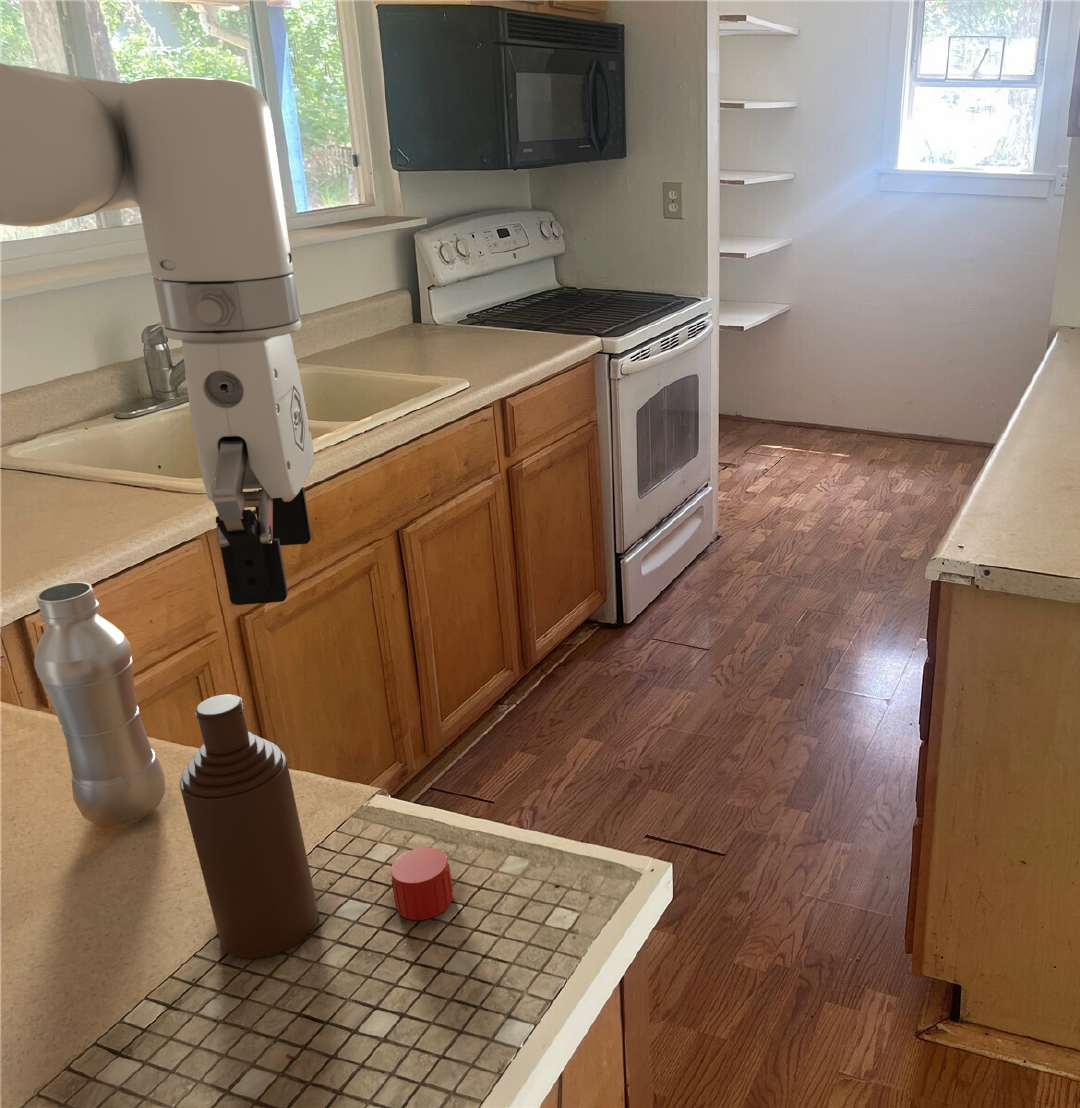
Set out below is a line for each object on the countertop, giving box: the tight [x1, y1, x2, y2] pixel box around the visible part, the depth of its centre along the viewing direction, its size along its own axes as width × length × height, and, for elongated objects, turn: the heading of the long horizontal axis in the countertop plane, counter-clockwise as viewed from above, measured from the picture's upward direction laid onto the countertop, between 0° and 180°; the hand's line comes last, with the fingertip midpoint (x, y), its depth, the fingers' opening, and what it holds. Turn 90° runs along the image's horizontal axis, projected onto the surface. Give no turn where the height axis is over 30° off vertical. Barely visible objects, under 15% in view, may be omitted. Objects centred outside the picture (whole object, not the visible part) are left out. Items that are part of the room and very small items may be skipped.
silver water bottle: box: [33, 581, 166, 827], centre depth 81 cm, size 6×7×20 cm
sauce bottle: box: [179, 693, 319, 960], centre depth 70 cm, size 6×6×18 cm
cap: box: [390, 847, 454, 921], centre depth 74 cm, size 4×4×3 cm
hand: (274, 570), depth 68 cm, fingers open, 9 cm apart
